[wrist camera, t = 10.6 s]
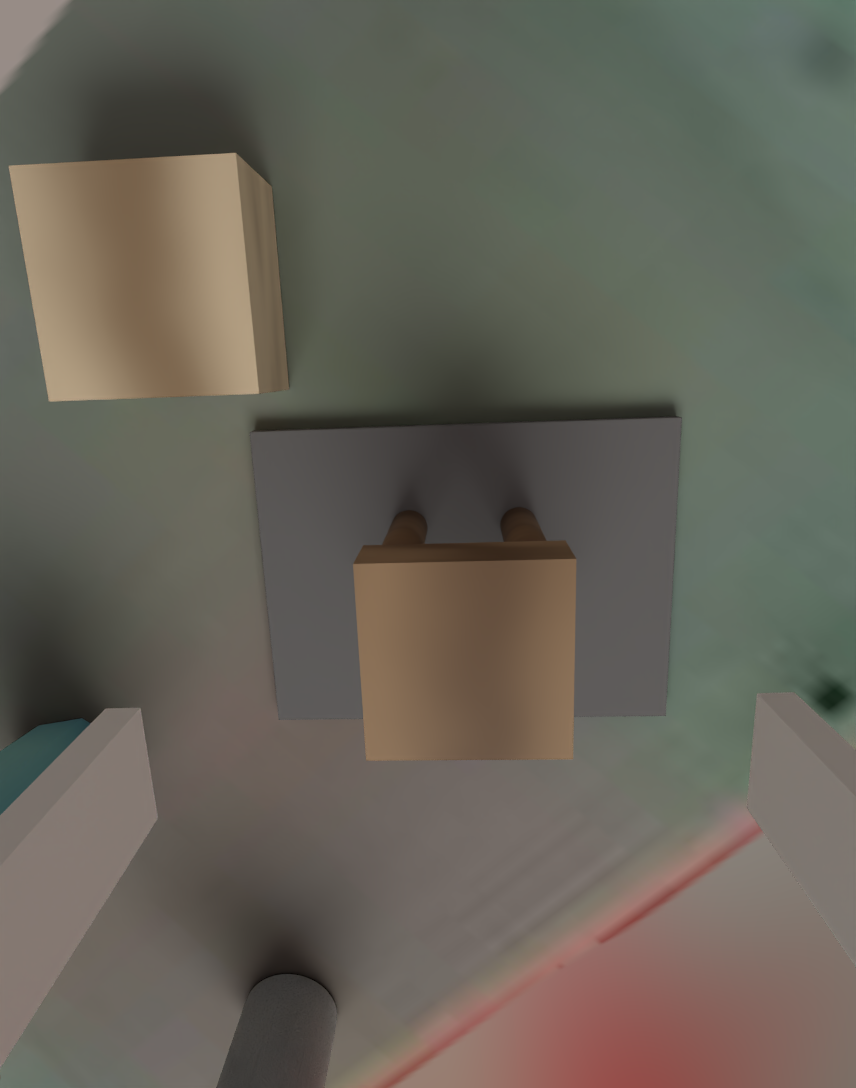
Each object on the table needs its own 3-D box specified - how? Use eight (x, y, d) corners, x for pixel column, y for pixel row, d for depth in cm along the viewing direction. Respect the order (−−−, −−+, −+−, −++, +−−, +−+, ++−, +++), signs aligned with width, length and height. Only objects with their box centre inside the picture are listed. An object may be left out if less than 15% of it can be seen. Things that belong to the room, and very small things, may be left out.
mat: (282, 712, 29) (278, 719, 29) (254, 430, 26) (249, 432, 26) (661, 708, 29) (665, 715, 28) (676, 416, 26) (681, 417, 25)
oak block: (109, 396, 26) (48, 401, 23) (79, 197, 25) (8, 165, 21) (289, 389, 26) (259, 393, 22) (271, 186, 24) (235, 152, 20)
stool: (392, 650, 28) (366, 760, 20) (385, 505, 26) (352, 563, 19) (541, 648, 28) (573, 759, 20) (542, 501, 26) (576, 559, 18)
